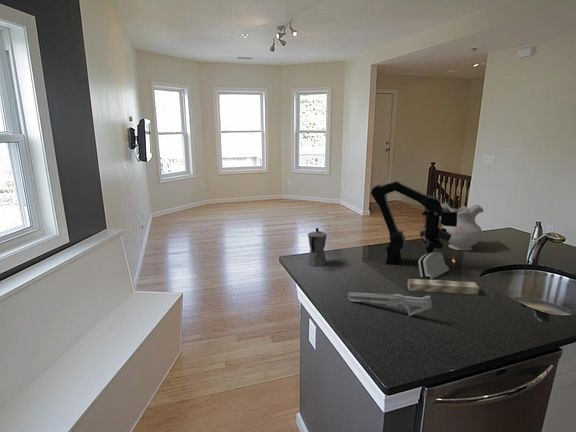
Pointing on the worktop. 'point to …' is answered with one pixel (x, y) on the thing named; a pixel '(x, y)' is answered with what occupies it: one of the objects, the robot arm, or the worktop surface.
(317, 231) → the coffeepot
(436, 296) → the worktop surface
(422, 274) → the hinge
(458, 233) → the ceramic pitcher
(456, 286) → the beige wooden bar
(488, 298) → the worktop surface
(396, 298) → the gun
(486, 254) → the worktop surface
